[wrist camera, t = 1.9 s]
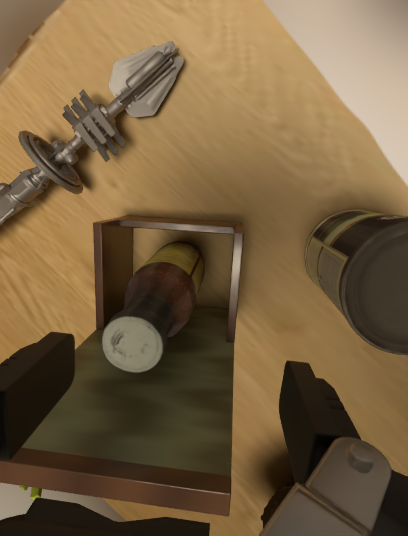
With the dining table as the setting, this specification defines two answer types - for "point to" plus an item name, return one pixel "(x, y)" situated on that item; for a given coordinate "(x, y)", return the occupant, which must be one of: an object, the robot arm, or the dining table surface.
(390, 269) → the coffee can
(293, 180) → the dining table surface
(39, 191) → the spaceship
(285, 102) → the dining table surface
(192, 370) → the bottle rack
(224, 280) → the dining table surface
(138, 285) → the sauce bottle
